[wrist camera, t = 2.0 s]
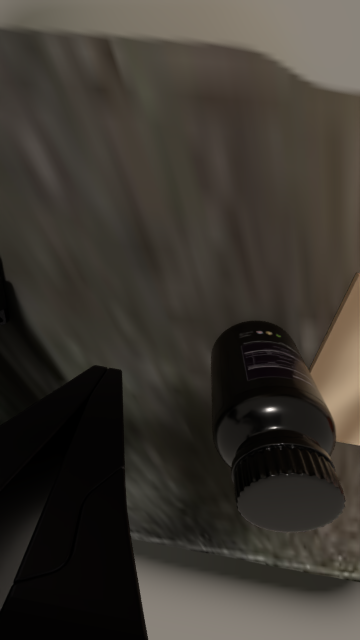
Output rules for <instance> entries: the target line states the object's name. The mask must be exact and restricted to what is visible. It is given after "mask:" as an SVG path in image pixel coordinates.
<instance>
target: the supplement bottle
mask: <svg viewBox="0 0 360 640" xmlns="http://www.w3.org/2000/svg"><path fill="white" fill-rule="evenodd" d="M211 384H212V430H213V440H214V444H215V447H216V449H217V451H218V453H219V455H220V456H221V458H222V459H223V460H224V462H225V463H226V464H227V465H228V466H229V467H231V474H232V481H233V483H234V489H235V499H236V503H237V509H238V510H239V511H240V514H241V515H242V516H243V517H245V520H247V521H249V522H250V523H251V524H253V525H256V526H258V527H259V528H264V529H266V530H271V531H275V532H285V533H289V532H294V533H297V532H306V531H309V530H315V529H317V528H319V527H324V526H325V525H326V524H329V523H332V522H333V520H335V519H337V518H338V516H339V515H340V514H341V513H342V510H343V509H344V507H345V504H344V503H345V501H346V500H345V496H344V493H343V489H342V487H341V485H340V482H339V480H338V478H337V475H336V473H335V467H334V465H333V463H332V460H331V458H330V456H331V454H332V452H333V450H334V447H335V443H336V426H335V422H334V420H333V417H332V415H331V413H330V411H329V409H328V407H327V405H326V403H325V401H324V399H323V397H322V395H321V393H320V391H319V390H318V388H317V386H316V384H315V382H314V380H313V378H312V376H311V374H310V372H309V370H308V368H307V366H306V364H305V362H304V360H303V359H302V357H301V355H300V353H299V351H298V349H297V347H296V345H295V343H294V342H293V340H292V338H291V337H290V336H289V334H288V333H287V332H286V331H284V330H283V329H282V328H280V327H279V326H277V325H275V324H272V323H269V322H265V321H247V322H242V323H239V324H236V325H234V326H232V327H230V328H229V329H227V330H226V331H224V332H223V333H222V334H221V335H220V336H219V338H218V339H217V340H216V342H215V344H214V346H213V349H212V354H211Z"/></svg>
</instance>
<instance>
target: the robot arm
mask: <svg viewBox="0 0 360 640" xmlns="http://www.w3.org/2000/svg"><path fill="white" fill-rule="evenodd" d="M1 318H2V319H3V320H2V319H1ZM8 321H9V315H8V310H7V304H6V299H5V293H4V288H3V283H2V278H1V272H0V325H4V324H6V323H7V322H8ZM0 640H148V636H147V630H146V625H145V619H144V614H143V608H142V602H141V596H140V589H139V583H138V578H137V572H136V565H135V559H134V553H133V547H132V542H131V535H130V528H129V520H128V513H127V502H126V487H125V459H124V424H123V390H122V371H121V370H119V369H114V368H109V369H108V368H107V367H103V366H97V365H95V366H92V367H91V368H89V369H87V370H86V371H84V372H83V373H81V374H80V375H78V376H77V377H75V378H74V379H72V380H70V381H69V382H67V383H66V384H64V385H63V386H61V387H60V388H58V389H57V390H55V391H53V392H52V393H50V394H49V395H47V396H46V397H44V398H43V399H41V400H40V401H38V402H37V403H35V404H33V405H32V406H30V407H29V408H27V409H26V410H24V411H23V412H21V413H20V414H18V415H16V416H15V417H13V418H12V419H10V420H9V421H7V422H6V423H4V424H3V425H1V426H0Z"/></svg>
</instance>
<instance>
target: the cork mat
mask: <svg viewBox="0 0 360 640" xmlns="http://www.w3.org/2000/svg"><path fill="white" fill-rule="evenodd" d="M309 372H310V374H311V376H312V378H313V380H314V382H315V384H316V386H317V388H318V390H319V391H320V393H321V395H322V397H323V399H324V401H325V403H326V405H327V407H328V409H329V411H330V413H331V415H332V417H333V420H334V422H335V426H336V441H338V442H343V443H349V444H354V445H360V273H356V275H355V277H354V279H353V281H352V283H351V285H350V287H349V289H348V291H347V293H346V295H345V297H344V299H343V301H342V303H341V305H340V307H339V310H338V312H337V314H336V316H335V318H334V320H333V322H332V324H331V326H330V328H329V330H328V332H327V334H326V336H325V338H324V340H323V342H322V344H321V346H320V348H319V350H318V352H317V354H316V356H315V359H314V361H313V363H312V365H311V367H310V369H309Z"/></svg>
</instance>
